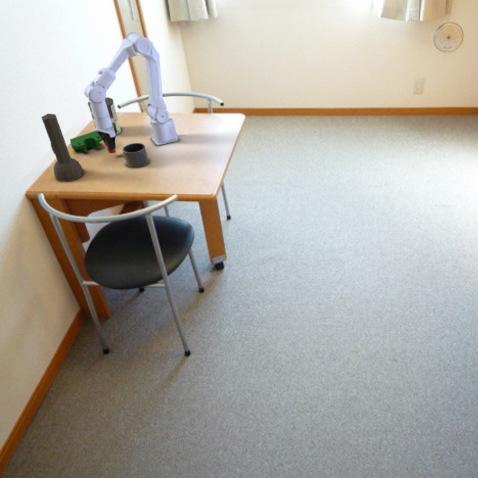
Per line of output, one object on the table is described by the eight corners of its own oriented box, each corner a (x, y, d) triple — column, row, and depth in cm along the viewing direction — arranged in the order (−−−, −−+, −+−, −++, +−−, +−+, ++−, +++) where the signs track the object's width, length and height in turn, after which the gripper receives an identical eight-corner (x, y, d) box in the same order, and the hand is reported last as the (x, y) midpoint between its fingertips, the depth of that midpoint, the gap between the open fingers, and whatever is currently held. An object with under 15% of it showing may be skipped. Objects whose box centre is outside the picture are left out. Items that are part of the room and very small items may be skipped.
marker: (115, 149, 201) (109, 130, 196) (116, 152, 199) (111, 133, 194) (107, 151, 200) (101, 132, 195) (109, 154, 198) (103, 135, 193)
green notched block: (86, 162, 205) (74, 149, 197) (78, 155, 207) (66, 142, 199) (108, 144, 208) (98, 131, 200) (101, 137, 210) (90, 123, 202)
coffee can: (110, 138, 213) (101, 107, 204) (91, 134, 216) (82, 104, 207) (126, 129, 220) (118, 99, 212) (108, 125, 224) (99, 95, 215)
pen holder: (145, 155, 201) (141, 141, 197) (151, 164, 195) (147, 149, 191) (124, 160, 197) (120, 146, 193) (129, 169, 191) (125, 154, 187)
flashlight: (83, 166, 193) (56, 171, 191) (63, 106, 178) (33, 110, 175) (83, 178, 186) (55, 183, 183) (62, 116, 171) (31, 121, 168)
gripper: (84, 113, 192) (94, 144, 200) (98, 124, 183) (108, 156, 192) (101, 108, 196) (110, 139, 204) (116, 119, 187) (125, 151, 196)
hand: (110, 147), depth 198 cm, fingers closed on marker, 3 cm apart
